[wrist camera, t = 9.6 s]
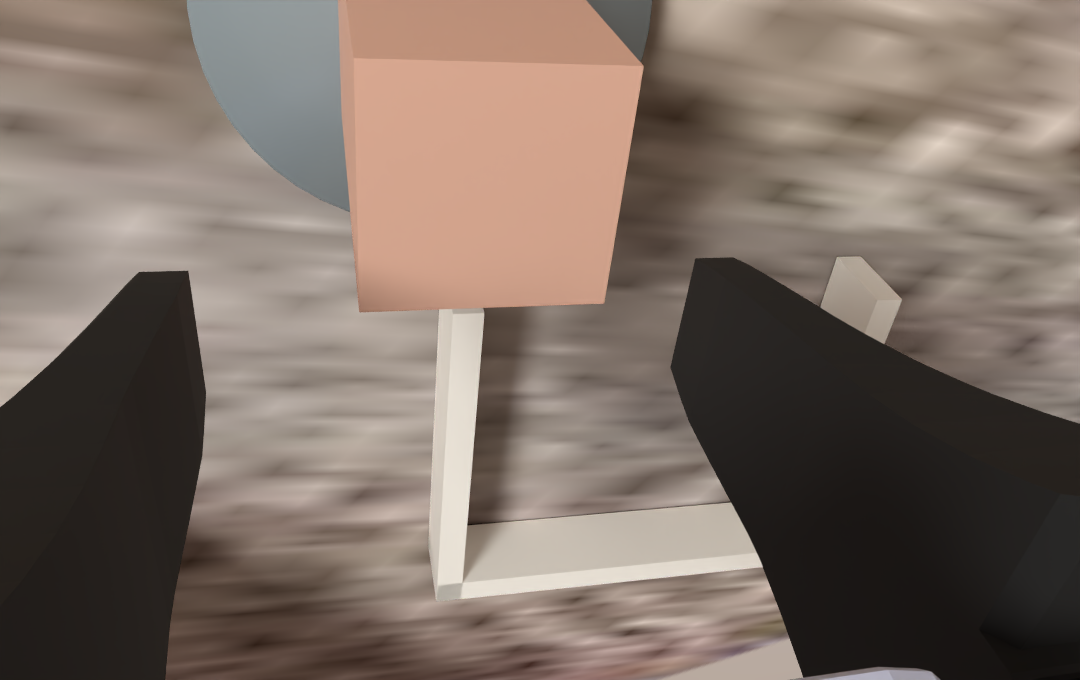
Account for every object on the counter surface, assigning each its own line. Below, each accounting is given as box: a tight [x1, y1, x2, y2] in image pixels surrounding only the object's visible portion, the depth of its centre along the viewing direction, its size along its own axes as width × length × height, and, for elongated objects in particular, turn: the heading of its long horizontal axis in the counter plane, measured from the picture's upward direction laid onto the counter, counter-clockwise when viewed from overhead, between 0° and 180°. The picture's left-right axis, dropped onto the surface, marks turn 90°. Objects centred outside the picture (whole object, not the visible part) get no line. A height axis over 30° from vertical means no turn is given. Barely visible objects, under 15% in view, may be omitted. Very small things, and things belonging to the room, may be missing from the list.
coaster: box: [187, 0, 652, 212], centre depth 20 cm, size 10×10×1 cm
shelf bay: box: [428, 256, 902, 602], centre depth 28 cm, size 13×11×2 cm
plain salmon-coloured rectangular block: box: [338, 0, 644, 312], centre depth 16 cm, size 4×4×8 cm
